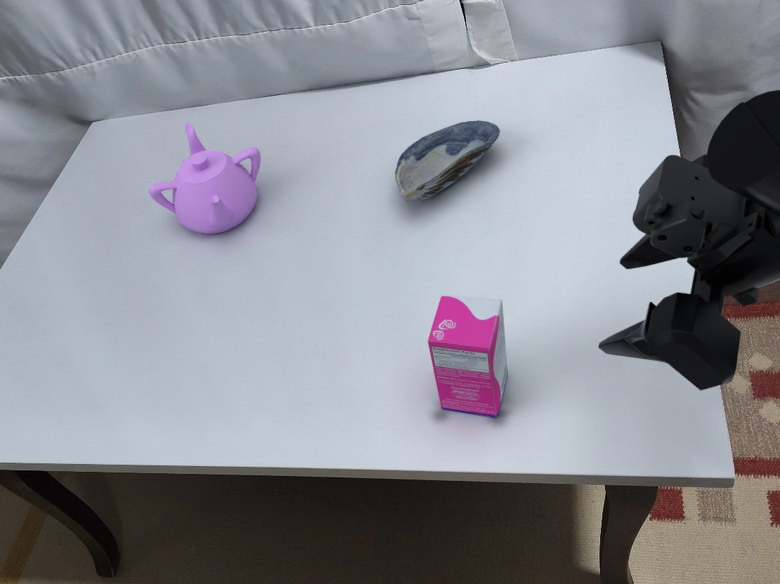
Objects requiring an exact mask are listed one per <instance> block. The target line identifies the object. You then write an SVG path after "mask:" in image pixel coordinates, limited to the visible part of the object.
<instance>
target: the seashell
mask: <svg viewBox="0 0 780 584" xmlns="http://www.w3.org/2000/svg"><path fill="white" fill-rule="evenodd" d="M500 134H501V129H500V127H499V126H498V125H497V124H495V123H492V122H490V121H487V120H468V121H461V122H458V123H454V124H452V125H450V126H446V127H443V128H442V129H441V128H440V129H439V130H436V131H433V132H431V133H429V134H427V135H425V136H422V137H420V138H419V139H418V140H416V141H415V142H412V144H411V145H409V146H408V147H407V148H406V149H405V150H404V151H403V152H402V153H401V154H400V156H399V158H398V160H397V162H396V168H395V170H394V171H395V172H394V176H395V177H394V178H395V182H396V185H397V188H398V191H399V194H400V196H401V198H402V199H403V200H404V201H406V202H410V203H413V202H414V203H415V202H420V201H424V200H427V199H429V198H431V197H434V196H436V195H437V194H439V192H442V191H443V190H444V189H446V188H448V187H449V186H451V185H452V184H454V183H455V182H456V181H458V179H460V178H461V177H462V176H464V175H465V174H466V173H467V172H468V171H470V169H472V168H473V167H474V166H475V165H476V164H477V162H478V161H479V160H480V159H481V158H482V157H484V156H485V155H486V153H487V152H488V151H489V150H490V149H491V147H492V145H493V144H495V142H496V141H497V140H498V139H499V137H500Z"/></svg>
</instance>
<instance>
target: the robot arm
mask: <svg viewBox="0 0 780 584" xmlns="http://www.w3.org/2000/svg"><path fill="white" fill-rule="evenodd" d="M631 221H632V223H633V226H634V227H635V228H636V229H637V230H638V231H639V232H641V233H643V234H644V235H643V236H642V237H641V238H640V239H639V240H638V241H637V242H636V243H635V244H634V245H633V246H631V248H630V249H629V250H627V251H626V253H624V255H622V256H621V257H620V259H619V265H620V266H622V268H624V269H626V270H633V269H639V268H645V267H649V266H654V265H657V264H661V263H666V262H669V261H670V262H671V261H674V260H678V259H686V263H687V264H688V265H689V266H690V267H692V268H693V269H694V272H693V277H692V282H691V288H690V293H686V292H680V291H677V292H674V293H672V294H669V295H666V296H665V297H663V298H662V299H661V300H660V302H658V304H657V305H656V304H655V303H653V301H649V302H648V304H647V310H646V314H645V318H644V319H643V320H641V321H639V322H637V323H635V324H632V325H630V326H628V327H627V328H624V329H622V330H620V331H618V332H616V333H613V334H611V335H610V336H608V337H606V338H605V339H603V340H602V341H600V342H599V343H598V346H597V348H598V349H599V350H600V351H602V352H603V353H604V354H606V355H610V356H611V355H612V356H616V357H617V356H618V357H626V358H633V359H640V360H646V361H653V362H654V361H655V362H659V363H663V364H667V365H669V366H670V367H671V368H672V369H674V370H675V371H676V372H677V373H678V374H680V375H681V376H682V377H683V378H684V379H686V380H687V381H688V382H689V383H691V385H693V386H694V387H696V388H697V390H698V391H700V392H701V391H704V390H708V389H713V388H715V387H719V386H723V385H725V384H728V383H732V382H733V380H734V376H735V374H736V371H737V367H738V366H737V365H738V359H739V358H738V357H739V351H740V342H741V334H742V331H741V330H740V329H739V328H737V327H736V326H735V325H734V324H733V323H731V321H730V320H728V318H726V317H725V316H724V315H723V313H724V308H725V307H724V306H725V299H726V298H730V297H732V298H733V299H734V300H735V301H737V302H738V303H739V304H740V305H741V306H742V307H748V306H750V305H752V304H756V303H758V301H759V292H760V288H762V287H764V286H767V285H770V284H773V283H775V282H778V281H780V89H775V90H768V91H765V92H763V93H759V94H757V95H755V96H752V98H750V99H748V100H746V101H745V102H744V101H741V102H739V103H738V104H736V106H734V107H733V108H731V110H729V112H728V113H727V114H726V115H725V116H724V118H723V119H721V120H720V122H719V124H718V125H717V126H716V128H715V130H714V132H713V134H712V136H711V138H710V140H709V143H708V146H707V150H706V154H702V155H701V156H698V157H697V158H695V159H694V160H692V161H691V160H689V159H687V158H685V157H683V156H680V155H677V154H670V155H667V156H666V157H665V158H664V159H663V160H662V161H661V162H660V163H659V164H658V166H657V167H656V168H655V170H654V171H653V172H652V173H651V174H650V175H649V176H648V178H646V180H645V181H644V182H643V183H642V185H641V186H640V187H639V189H638V197H637V201H636V206H635V209H634V211H633V213H632V220H631Z"/></svg>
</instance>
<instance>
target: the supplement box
mask: <svg viewBox="0 0 780 584" xmlns="http://www.w3.org/2000/svg"><path fill="white" fill-rule="evenodd" d="M430 328H431V329H430V332H429V335H428V338H427V344H428V345H427V346H428V349H429V354H430V360H431V364H432V365H431V366H432V369H433V376H434V379H435V384H436V385H435V386H436V389H437V394H438V399H439V404H440V405H439V406H440V409H441V410H444V411H451V412H456V413H463V414H469V415H476V416H483V417H487V418H494V419H497V418H498V417H499V414H500V411H501V408H502V404H503V398H504V393H505V389H506V385H507V381H508V375H509V370H508V359H507V358H508V357H507V345H506V344H507V343H506V333H505V331H506V329H505V317H504V305H503V299H501V298H489V297H474V296H466V295H465V296H464V295H455V294H454V295H453V294H452V295H451V294H441V295H440V298H439V302H438V305H437V309H436V312H435V315H434V318H433V322H432V325H431V327H430Z"/></svg>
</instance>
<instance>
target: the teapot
mask: <svg viewBox="0 0 780 584" xmlns="http://www.w3.org/2000/svg"><path fill="white" fill-rule="evenodd" d="M184 130H185V133H186V137H187V141H188V146H189V154H190V156H189V157H187V158H185V160H183V161H182V162H181V164H180V165H179V166H178V168H177V171H176V173H175V178H174V180H168V181H160V182H156V183H154V184H152V185H151V186H149V188H148V193H149V195H150V197H151V198H152V200H153V201H154V202H156V203H157V204H158V205H160V206H162V208H164V209H166V210H169V211H170V212H172V213H174V214H175V216H176V218H177V221H178V223H180V225H182V227H184V228H186V229H187V230H189V231H192V232H194V233H198V234H204V235H216V234H220V233H221V234H222V233H224V232H228V231H230V230H232V229H234V228H236V227H238V226H239V225H241V223H243V222H244V221H245V220H246V219H247V218H248V217H249V216H250V214H251V213H252V211H253V210H254V207H255V205H256V203H257V200H258V187H257V184H256V181H257V176H258V174H259V171H260V167H261V163H262V156H261V151H260V150H259V148H258V147H248V148H246V149H243V150H242V151H240V152H238V153H237V154H236V155H234V156H230V155H228V154H227V153H224V152H222V151H220V150H218V149H217V150H216V149H207V148H206V147H205V146H204V144H203V143H202V141H200V138H199V137H198V134H197V133H196V130H195V127H194V126H193V124H192V123H191V122H186V123H185V129H184ZM247 159H250V161H251V164H250V165H251V169H250V172H249V170H248V169H247V168H246V167H245V166H244V165H243V164H241V162H243V161H245V160H247ZM169 190H172V202H171V201H170V200H169V199H167V198H166V196H164V195H163V193H162V192H163V191H164V192H165V191H169Z"/></svg>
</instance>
